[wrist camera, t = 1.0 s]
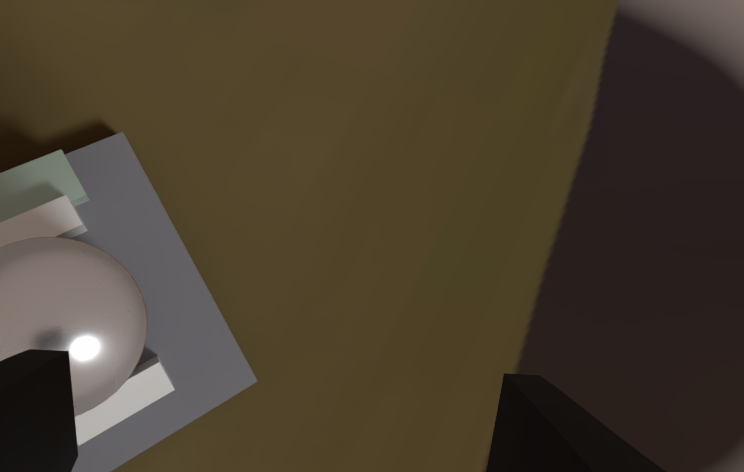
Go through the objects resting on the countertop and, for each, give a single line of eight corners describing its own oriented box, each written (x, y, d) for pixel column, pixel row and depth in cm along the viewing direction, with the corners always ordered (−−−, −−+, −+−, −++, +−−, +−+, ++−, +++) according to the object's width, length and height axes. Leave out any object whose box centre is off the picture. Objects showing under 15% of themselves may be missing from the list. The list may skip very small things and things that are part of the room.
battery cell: (46, 402, 18) (-3, 463, 12) (-18, 291, 18) (-106, 292, 12) (166, 337, 20) (179, 360, 13) (109, 233, 20) (93, 206, 13)
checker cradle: (35, 509, 19) (17, 547, 16) (-127, 238, 18) (-176, 229, 15) (252, 377, 22) (268, 390, 19) (123, 138, 21) (120, 115, 18)
